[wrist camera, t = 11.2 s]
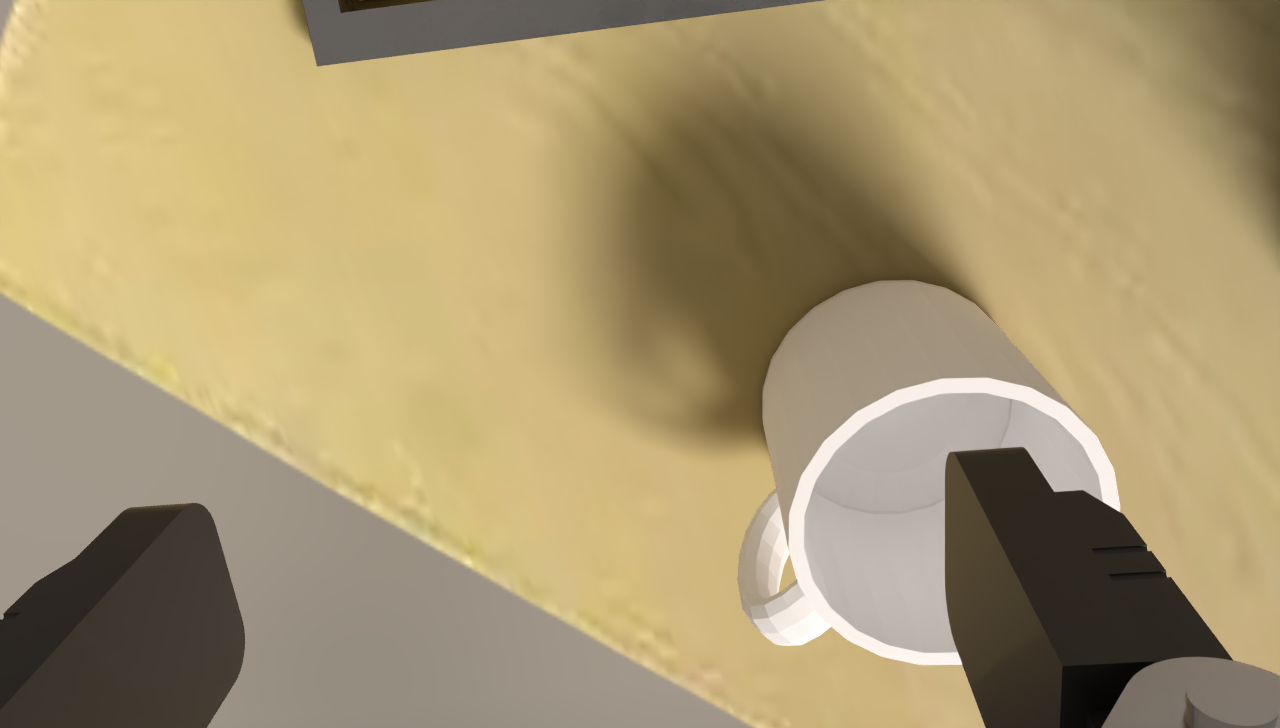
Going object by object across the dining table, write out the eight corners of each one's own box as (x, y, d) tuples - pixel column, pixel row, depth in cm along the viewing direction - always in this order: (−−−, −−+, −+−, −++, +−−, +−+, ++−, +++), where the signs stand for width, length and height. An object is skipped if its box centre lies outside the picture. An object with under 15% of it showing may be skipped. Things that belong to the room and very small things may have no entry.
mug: (921, 224, 39) (1002, 309, 30) (1065, 416, 42) (1181, 551, 32) (659, 418, 42) (656, 552, 33) (807, 586, 45) (845, 755, 35)
